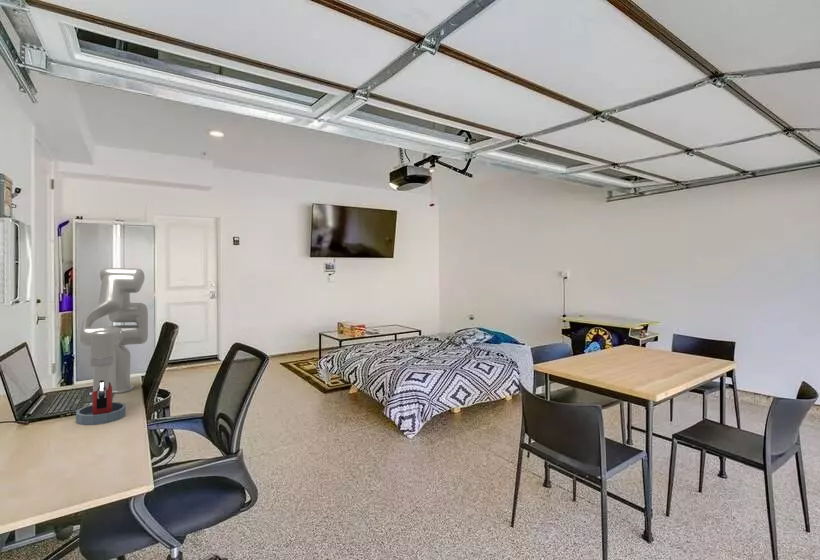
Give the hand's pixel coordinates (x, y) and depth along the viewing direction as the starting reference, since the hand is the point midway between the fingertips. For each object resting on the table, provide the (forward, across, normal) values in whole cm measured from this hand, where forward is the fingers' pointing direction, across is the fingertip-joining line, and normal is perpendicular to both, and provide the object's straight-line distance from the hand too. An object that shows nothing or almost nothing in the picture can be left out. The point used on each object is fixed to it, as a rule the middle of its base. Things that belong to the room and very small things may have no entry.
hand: (101, 404), depth 170 cm
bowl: (+5, 0, 0) cm, 5 cm away
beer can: (+4, 0, 0) cm, 4 cm away
